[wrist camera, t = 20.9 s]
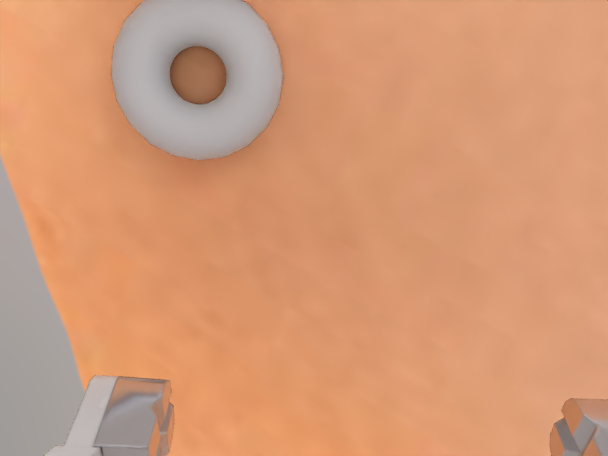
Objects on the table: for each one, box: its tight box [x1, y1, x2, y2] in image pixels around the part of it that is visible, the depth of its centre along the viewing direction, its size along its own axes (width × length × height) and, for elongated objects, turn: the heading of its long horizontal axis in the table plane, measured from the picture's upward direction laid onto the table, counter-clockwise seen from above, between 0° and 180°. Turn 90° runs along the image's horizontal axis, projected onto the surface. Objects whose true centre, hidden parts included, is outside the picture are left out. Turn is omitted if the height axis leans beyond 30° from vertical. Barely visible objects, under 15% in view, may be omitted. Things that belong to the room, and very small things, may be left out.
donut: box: [111, 0, 283, 160], centre depth 34 cm, size 10×4×10 cm
